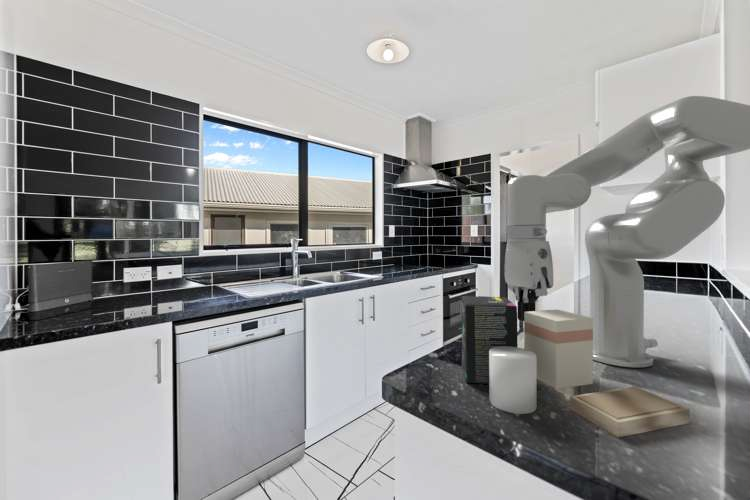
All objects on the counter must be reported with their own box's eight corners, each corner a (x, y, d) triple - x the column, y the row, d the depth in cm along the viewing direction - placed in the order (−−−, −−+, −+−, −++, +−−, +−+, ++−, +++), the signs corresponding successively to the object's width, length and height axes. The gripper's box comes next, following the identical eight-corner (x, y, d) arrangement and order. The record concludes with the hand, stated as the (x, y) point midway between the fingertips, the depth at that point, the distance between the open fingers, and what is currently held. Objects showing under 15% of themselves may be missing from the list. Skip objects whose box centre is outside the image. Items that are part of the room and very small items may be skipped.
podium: (634, 398, 53) (634, 385, 52) (689, 423, 45) (689, 407, 45) (569, 409, 49) (569, 395, 49) (617, 437, 42) (617, 421, 42)
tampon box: (519, 388, 57) (519, 305, 56) (465, 384, 59) (464, 304, 58) (506, 365, 67) (506, 295, 67) (461, 362, 69) (461, 294, 69)
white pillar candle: (516, 390, 56) (516, 344, 56) (547, 410, 49) (547, 358, 49) (480, 395, 54) (480, 348, 54) (507, 416, 47) (507, 363, 47)
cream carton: (557, 367, 66) (557, 309, 66) (592, 383, 58) (593, 318, 58) (524, 371, 64) (524, 311, 64) (556, 389, 56) (556, 321, 56)
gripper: (569, 233, 62) (569, 327, 63) (517, 235, 77) (518, 312, 77) (536, 233, 60) (536, 330, 61) (490, 235, 75) (490, 313, 75)
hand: (526, 319), depth 69 cm, fingers closed
